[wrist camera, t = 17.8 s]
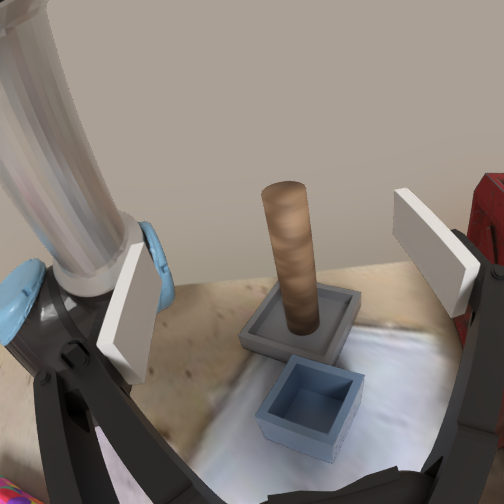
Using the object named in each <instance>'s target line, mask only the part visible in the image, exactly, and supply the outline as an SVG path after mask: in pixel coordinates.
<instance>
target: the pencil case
mask: <svg viewBox="0 0 504 504" xmlns="http://www.w3.org/2000/svg"><path fill="white" fill-rule="evenodd" d="M0 504H44V503H43V502H41V501H39V500H37V499H36V498H34V497H32V496H30V495H29V494H27V493H25V492H24V491H22V490H21V489H20V488H19V487H17V486H16V485H14V484H13V483H12V482H10V481H9V480H7V479H6V478H5V477H3V476H2V475H0Z"/></svg>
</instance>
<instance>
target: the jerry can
mask: <svg viewBox="0 0 504 504" xmlns="http://www.w3.org/2000/svg"><path fill="white" fill-rule="evenodd" d="M467 238H468V239H469V240H470V242H472V243H473V244H474V245H475V247H477V248H478V249H479V250H480V251H481V253H482V254H483V255H484V256H485V257H486V258H487V259H488V260H489V261H490V263H491V264H497V265H501V266H504V173H485V174H484V176H483V178H482V179H481V181H480V182H479V184H478V185H477V187H476V188H475V190H474V194H473V201H472V208H471V214H470V221H469V226H468V232H467ZM471 312H472V308H471V307H470V305H469V304H468V305H467V308H466V311H465V314H462V315H459V316H456V317H454V318H453V319H454V322H455V325H456V328H457V331H458V334H459V337H460V340H461V343H462V347H463V350H464V345H465V340H466V336H467V331H468V327H466V325H467V322H468V320H469V317H470V315H471ZM495 433H496V434H497V435H498V444H497V448H496V450H497V449H500V448H503V447H504V390H503V396H502V401H501V406H500V411H499V415H498V420H497V424H496V428H495Z"/></svg>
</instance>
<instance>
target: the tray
mask: <svg viewBox="0 0 504 504" xmlns="http://www.w3.org/2000/svg"><path fill="white" fill-rule="evenodd" d="M317 293H318V304H319V317H320V325H319V327H318V329H317V330H316V331H315V332H314V333H312V334H310V335H306V336H298V335H295V334H293V333H291V332H290V331H289V329H288V327H287V322H286V316H285V311H284V306H283V301H282V295H281V290H280V285H279V280H278V281H277V283H276V284H275V285H274V287H273V288H272V290H271V291H270V292H269V294H268V295H267V297H266V298H265V299H264V301H263V302H262V304H261V305H260V306H259V308H258V309H257V310H256V312H255V313H254V315H253V316H252V317H251V319H250V320H249V321H248V323H247V324H246V326H245V327H244V328H243V330H242V331H241V332H240V334H239V335H238V337H239V339H240V342H241V345H242V347H243V348H245V349H248V350H250V351H253V352H256V353H259V354H262V355H264V356H267V357H270V358H273V359H276V360H279V361H282V362H285V363H288V361H289V359H290V358H291V356H292V354H293V355H296V356H300V357H303V358H306V359H310V360H313V361H316V362H320V363H323V364H326V365H330V366H333V367H334V365H335V363H336V361H337V359H338V356H339V354H340V352H341V350H342V348H343V345H344V343H345V341H346V339H347V337H348V334H349V332H350V330H351V327H352V325H353V323H354V320H355V318H356V316H357V313H358V311H359V308H360V306H361V292H358V291H353V290H348V289H343V288H339V287H334V286H329V285H324V284H320V283H317Z"/></svg>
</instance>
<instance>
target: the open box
mask: <svg viewBox="0 0 504 504" xmlns="http://www.w3.org/2000/svg"><path fill="white" fill-rule="evenodd" d="M364 377H365V375H363V374H359V373H355V372H351V371H348V370H344V369H340V368H337V367H333V366H330V365H326V364H323V363H320V362H316V361H313V360H310V359H306V358H303V357H300V356H296V355H293V354H292V356H291V358H290V359H289V361H288V363H287V364H286V366H285V368H284V370H283V371H282V373H281V374H280V376H279V378H278V379H277V381H276V383H275V384H274V386H273V388H272V389H271V391H270V392H269V394H268V396H267V397H266V399H265V400H264V402H263V403H262V405H261V407H260V408H259V410H258V411H257V413H256V414H255V418H256V421H257V423H258V425H259V427H260V429H261V430H262V432H263V434H264V436H265V438H266V439H269V440H271V441H273V442H276V443H278V444H281V445H283V446H286V447H288V448H291V449H293V450H296V451H298V452H301V453H304V454H306V455H309V456H312V457H315V458H317V459H320V460H323V461H326V462H329V463H333V461H334V459H335V457H336V455H337V453H338V451H339V449H340V447H341V445H342V443H343V441H344V439H345V437H346V434H347V432H348V430H349V428H350V426H351V423H352V421H353V419H354V417H355V414H356V412H357V410H358V407H359V405H360V403H361V397H362V391H363V384H364Z"/></svg>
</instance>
